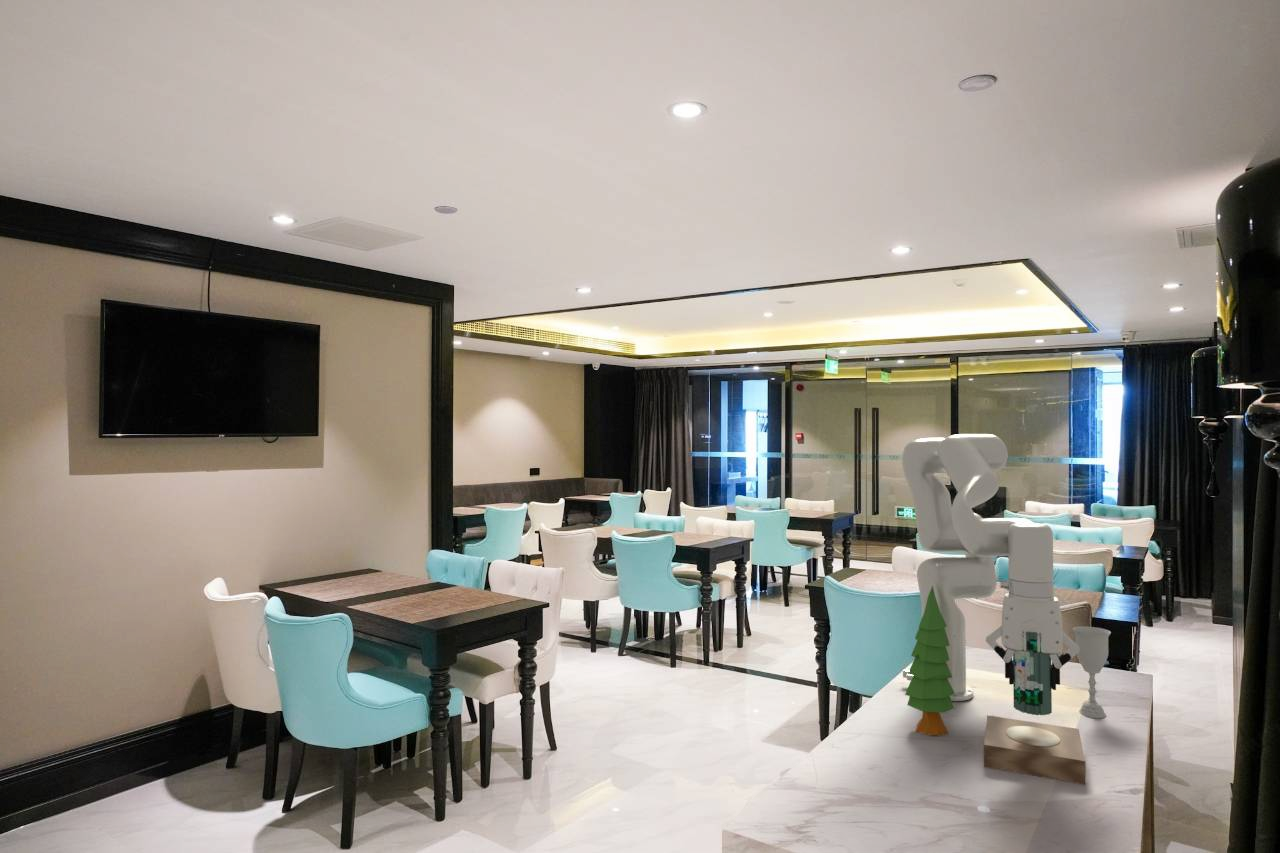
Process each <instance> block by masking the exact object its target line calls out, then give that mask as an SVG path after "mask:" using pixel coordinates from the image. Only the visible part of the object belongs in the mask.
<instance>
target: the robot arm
mask: <svg viewBox="0 0 1280 853" xmlns="http://www.w3.org/2000/svg"><path fill="white" fill-rule="evenodd" d="M1008 456H1009V454H1008V449H1007V446H1006V444H1005V443H1004V441H1003V440H1002V439H1001V438H1000V437H999V436H998V435H995V434H990V433H958V434H952V435H948V436H947V437H925V438H922V437H921V438H917V439H914V440H911V441H909V442H907V444H906V445H905V446H904V448H903V452H902V457H901V461H902V462H901V463H902V470H903V474H904V477H905V480H906V483H907V485H908V488H909V490H910V492H911V496H912V500H913V508H914V509H913V510H914V517H915V524H916V529H917V535H918V540H919V544H920V546H921V547H922V548H923V550H925V551H927V552H934V553H959V552H960V553H964V556H965V557H964V556H962V557H959V556H958V557H956V556H947V557H943V556H942V557H941V556H940V557H932V558H928V559H925V560H923V561H922V562H921V563H920V564H919V565H918V567H917V570H916V578H917V586H918V590H919V595H920V596H919V597H920V603H921V604H920V606H921V607H920V608H921V618H922V617H923V614H924V611H925V607H926V603H927V599H928V596H929V593H930V590H931V588H932V585H933V589H934V593H935V598H936V601H937V604H938V607H939V610H940V613H941V615H942V617H943V619H944V621H945V623H946V625H947V627H945V631H946V635H947V638H948V641H949V644H950V646H946V649H947V653H948V656H949V661H946V663H947V665H948V668H949V670H950V672H951V674H952V678H947V679H948V681H949V683H950V685H951V687H952V689H953V690H954V692H955V694H953V695H950V698H951V701H952V702H963V701H968V700H971V699H972V698H973V697H974V690H973V688H972V687H970V686H968V685H967V668H966V667H967V666H966V665H967V662H966V661H967V660H966V657H967V654H966V650H967V648H966V646H967V645H966V643H967V642H966V641H967V640H966V638H967V637H966V618H965V616H964V613H963V611H962V610H961V609H960V608H959V606H958V605H957V603H956V602H955V600H959V599H961V600H962V599H986V598H989V597H991V596H992V595H993V594H994V593H995V591H996V589H997V572H996V566H995V561H994V560H995V559H994V557H1008V579H1006V580H1000V583H999V584H1000V586H999V587H1000V589H1005V590H1006V591H1008V593H1005V595H1004V598H1003V601H1002V611H1001V625H1000V627H998V628H997V629H995V630H994V631H993V632H991V633H990V634H989V635H987V636H986V637H985V642H986V643H987V644H988V645H989V647H991V649H993V650H994V652H995V653H996V654H997V655H998V656H999V657H1000V659H1002V660H1003V662H1004V672H1005V673H1004V677H1005V679H1008V684H1009V685H1013V654H1014V652H1015V651H1022V650H1024V651H1026V632H1035V633H1038V637H1037V639H1038V640H1037V650H1038V652H1040V639H1039V638H1040V636H1039V633H1041V652H1042V653H1043V654H1049V656H1050V658H1051V690H1053V691H1057V685H1058V686H1059V685H1061V669H1062V668H1063V666H1064V665H1065V664H1067V663H1068V662H1069V661H1071V659H1073V658H1074V657H1075V656H1077V653H1079V652H1080V648H1079V646H1078V645H1077V644H1075V642H1074V640H1072V639H1071V637H1069V636H1068V635H1067V634H1066V633H1065V632H1064V630H1063V620H1062V619H1063V618H1062V611H1061V606H1060V601H1059V599H1058V597H1056V596H1055V587H1054V586H1055V585H1054V533H1053V530H1052V528H1051V527H1050V526H1049V525H1048V524H1045V523H1039V522H1034V521H1032V520H1030V519H1027V518H1024V517H1022V518H1021V517H982V515H980V514H978V513H975V512H974V510H973V508H975V507H977V506H979V505H981V504H984V503H986V502H988V500H991V498H993V497H994V496H995V495H996V494H997V492H998V491H999V488H1000V481H999V477H998V476H997V475H996V473H995V472H998V471H1000V470H1003V469H1004V467H1005V466H1006V464H1007V463H1008V462H1007V461H1008ZM935 474H946V475H947V476H948V477H949V479H950V481H951V482H952V484H953V486H954V488H955V490H956V492H957V493H956V495H955V497H954V499H953V501H951V494H950V491H949V489H948V488H947V487H946V485H945V483H943V481H941V479H939V478H938V477H937V476H936V475H935ZM1023 631H1024V634H1023ZM1022 635H1023V636H1024V637H1023V636H1022ZM999 638H1001V643H1002V646H1003V647H1002V646H1001V645H1000V644H999V643H998V641H997V640H998V639H999ZM1064 645H1065V646H1066V647H1068V649H1067V650H1066V651H1064V652H1063V650H1064ZM1004 648H1005V649H1004ZM1062 652H1063V653H1062ZM1061 653H1062V654H1061ZM1059 654H1060V655H1059ZM909 671H910V669H906V668H905V669H903V670H902V678H903V679H904V678H905V679H906V680H907V681H910V682H911V680H912V677H913V675H912V674H910V673H909Z"/></svg>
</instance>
